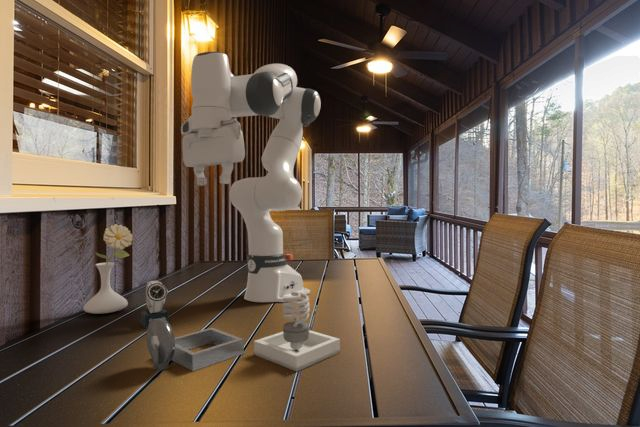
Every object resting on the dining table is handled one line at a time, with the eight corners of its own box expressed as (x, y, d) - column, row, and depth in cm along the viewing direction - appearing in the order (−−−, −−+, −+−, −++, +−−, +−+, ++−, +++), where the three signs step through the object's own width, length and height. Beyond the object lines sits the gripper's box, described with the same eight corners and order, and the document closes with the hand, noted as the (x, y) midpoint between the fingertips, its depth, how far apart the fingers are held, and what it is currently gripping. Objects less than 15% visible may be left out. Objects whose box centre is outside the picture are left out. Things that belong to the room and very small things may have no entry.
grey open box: (212, 340, 90) (211, 300, 90) (243, 353, 83) (243, 309, 82) (141, 362, 79) (140, 315, 78) (169, 379, 71) (168, 327, 71)
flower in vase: (82, 319, 108) (79, 226, 107) (84, 309, 118) (82, 224, 117) (135, 312, 114) (133, 224, 113) (133, 303, 124) (131, 222, 123)
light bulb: (282, 346, 85) (281, 289, 85) (309, 345, 85) (308, 288, 85) (282, 356, 79) (282, 295, 79) (311, 355, 80) (310, 294, 80)
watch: (147, 330, 98) (146, 285, 98) (139, 322, 105) (138, 280, 105) (170, 325, 102) (169, 282, 101) (161, 318, 108) (160, 277, 108)
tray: (297, 338, 91) (297, 326, 91) (340, 352, 83) (339, 338, 83) (254, 354, 82) (253, 340, 82) (296, 371, 74) (296, 356, 73)
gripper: (251, 119, 87) (252, 183, 88) (200, 131, 101) (201, 186, 102) (226, 114, 83) (227, 182, 83) (177, 127, 97) (178, 185, 97)
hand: (213, 184), depth 92 cm, fingers open, 8 cm apart
